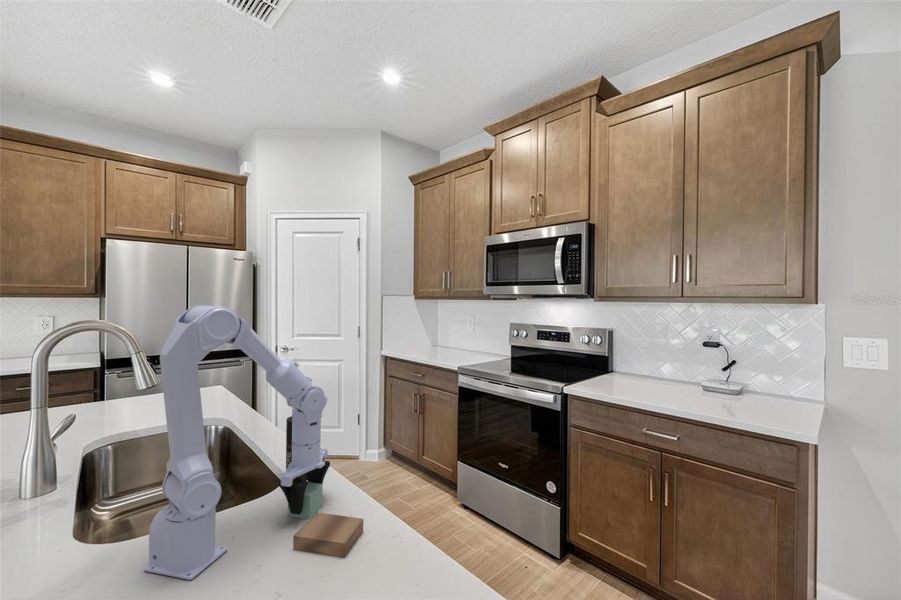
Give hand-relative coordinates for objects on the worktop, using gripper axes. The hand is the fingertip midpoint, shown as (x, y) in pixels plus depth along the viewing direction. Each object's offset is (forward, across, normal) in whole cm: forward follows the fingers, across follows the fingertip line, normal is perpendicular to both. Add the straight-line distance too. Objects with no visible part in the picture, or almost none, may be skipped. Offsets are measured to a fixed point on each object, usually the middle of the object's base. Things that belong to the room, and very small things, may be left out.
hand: (305, 504), depth 86 cm
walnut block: (+2, -8, -10) cm, 13 cm away
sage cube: (+2, 0, 0) cm, 2 cm away
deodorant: (+2, +13, +10) cm, 16 cm away
